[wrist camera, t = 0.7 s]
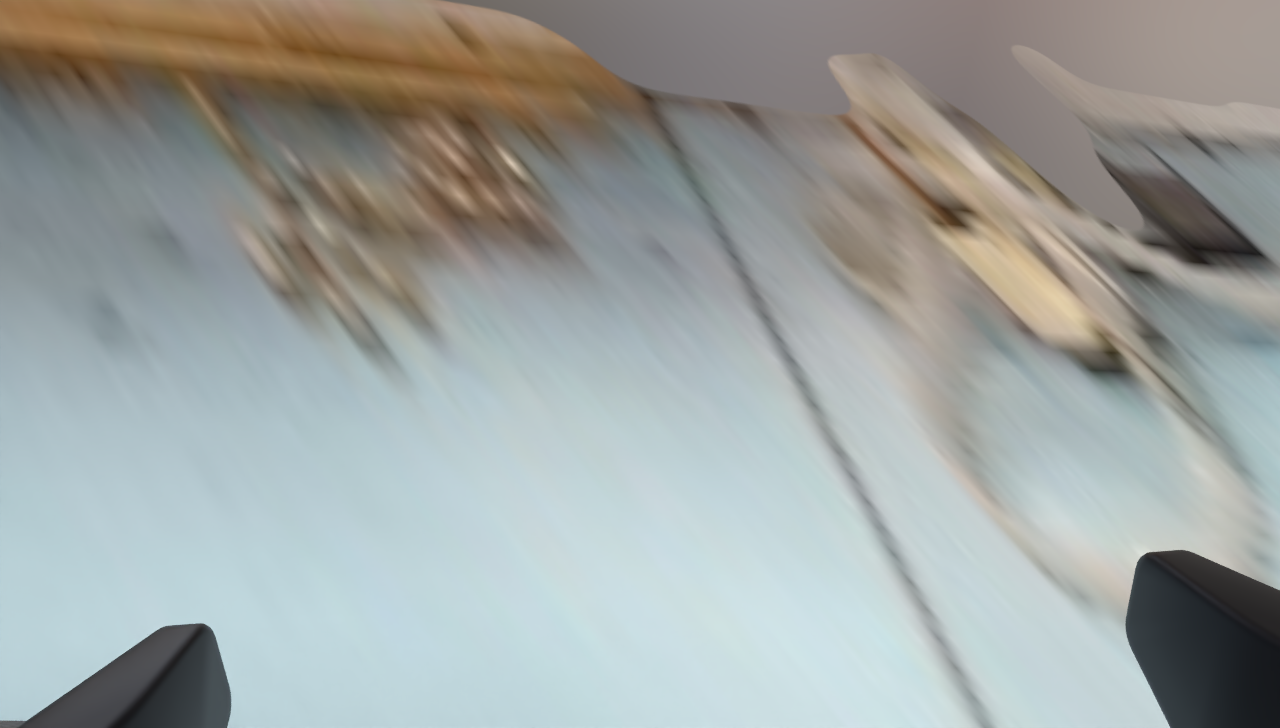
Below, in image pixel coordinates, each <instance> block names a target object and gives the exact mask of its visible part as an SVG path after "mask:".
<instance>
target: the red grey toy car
mask: <svg viewBox="0 0 1280 728" xmlns="http://www.w3.org/2000/svg"><path fill="white" fill-rule="evenodd" d="M24 722H26V721H0V728H17V727H19V726H20V725H22V724H23V723H24Z"/></svg>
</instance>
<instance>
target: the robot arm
mask: <svg viewBox="0 0 1280 728" xmlns="http://www.w3.org/2000/svg"><path fill="white" fill-rule="evenodd" d="M1126 634H1127V638H1128V642H1129V644H1130V647H1131V649H1132V651H1133V653H1134V655H1135V657H1136V659H1137V661H1138V663H1139V665H1140V667H1141V669H1142V671H1143V673H1144V675H1145V677H1146V679H1147V681H1148V683H1149V685H1150V687H1151V689H1152V691H1153V693H1154V695H1155V697H1156V699H1157V702H1158V704H1159V706H1160V708H1161V710H1162V712H1163V714H1164V716H1165V718H1166V720H1167V722H1168V724H1169V726H1170V728H1280V591H1279V590H1277V589H1275V588H1273V587H1270V586H1268V585H1266V584H1263V583H1261V582H1259V581H1256V580H1254V579H1252V578H1250V577H1247V576H1245V575H1243V574H1240V573H1238V572H1236V571H1234V570H1231V569H1229V568H1227V567H1224V566H1222V565H1220V564H1217V563H1215V562H1213V561H1211V560H1208V559H1206V558H1204V557H1201V556H1199V555H1197V554H1195V553H1192V552H1189V551H1185V550H1174V551H1161V552H1149V553H1146V554H1145V555H1143V556H1142V557H1141V558H1140V559H1139V561H1138V562H1137V566H1136V569H1135V574H1134V579H1133V584H1132V590H1131V595H1130V600H1129V605H1128V610H1127V615H1126ZM230 712H231V692H230V687H229V684H228V680H227V676H226V673H225V669H224V666H223V662H222V659H221V655H220V652H219V648H218V644H217V641H216V637H215V635H214V633H213V631H212V629H211V628H210V627H209V626H207V625H205V624H201V623H200V624H186V625H172V626H165V627H162V628H160V629H158V630H157V631H155V632H154V633H152V634H151V635H150V636H148V637H147V638H145V639H144V640H142V641H141V642H139V643H138V644H137V645H135V646H134V647H132V648H131V649H129V650H128V651H127V652H125V653H124V654H122V655H121V656H119V657H118V658H116V659H115V660H114V661H112V662H111V663H109V664H108V665H106V666H105V667H104V668H102V669H101V670H99V671H98V672H96V673H95V674H94V675H92V676H91V677H89V678H88V679H86V680H85V681H83V682H82V683H81V684H79V685H78V686H76V687H75V688H73V689H72V690H71V691H69V692H68V693H66V694H65V695H63V696H62V697H60V698H59V699H58V700H56V701H55V702H53V703H52V704H50V705H49V706H48V707H46V708H45V709H43V710H42V711H40V712H39V713H37V714H36V715H35V716H33V717H32V718H30V719H29V720H27V721H26V722H24V723H23V724H22V725H20V726H19V727H17V728H227V726H228V722H229V718H230Z"/></svg>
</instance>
